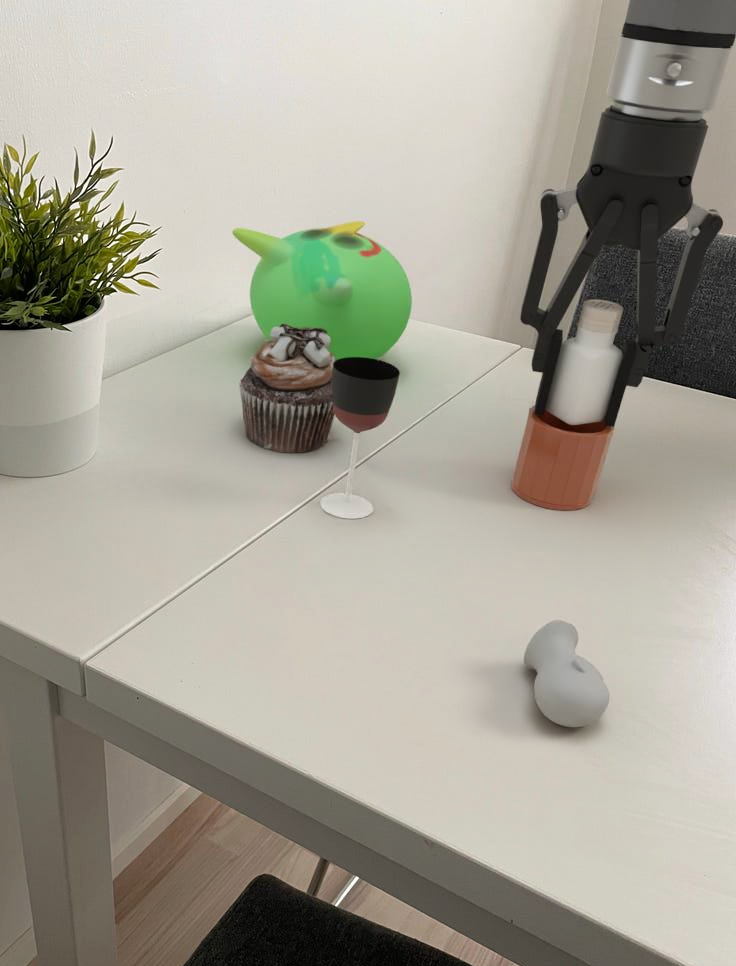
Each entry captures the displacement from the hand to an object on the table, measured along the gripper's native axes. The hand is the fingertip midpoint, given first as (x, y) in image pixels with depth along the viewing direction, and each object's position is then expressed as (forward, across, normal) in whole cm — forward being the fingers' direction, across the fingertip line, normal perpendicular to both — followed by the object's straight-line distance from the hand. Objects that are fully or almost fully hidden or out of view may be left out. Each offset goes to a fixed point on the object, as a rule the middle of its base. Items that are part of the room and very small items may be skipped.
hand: (573, 413), depth 85 cm
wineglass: (+7, -17, -10) cm, 21 cm away
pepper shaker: (0, 0, 0) cm, 0 cm away
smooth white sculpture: (+8, +1, -31) cm, 32 cm away
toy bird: (+7, -26, +23) cm, 36 cm away
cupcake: (+7, -25, +2) cm, 26 cm away
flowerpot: (+7, 0, 0) cm, 7 cm away
